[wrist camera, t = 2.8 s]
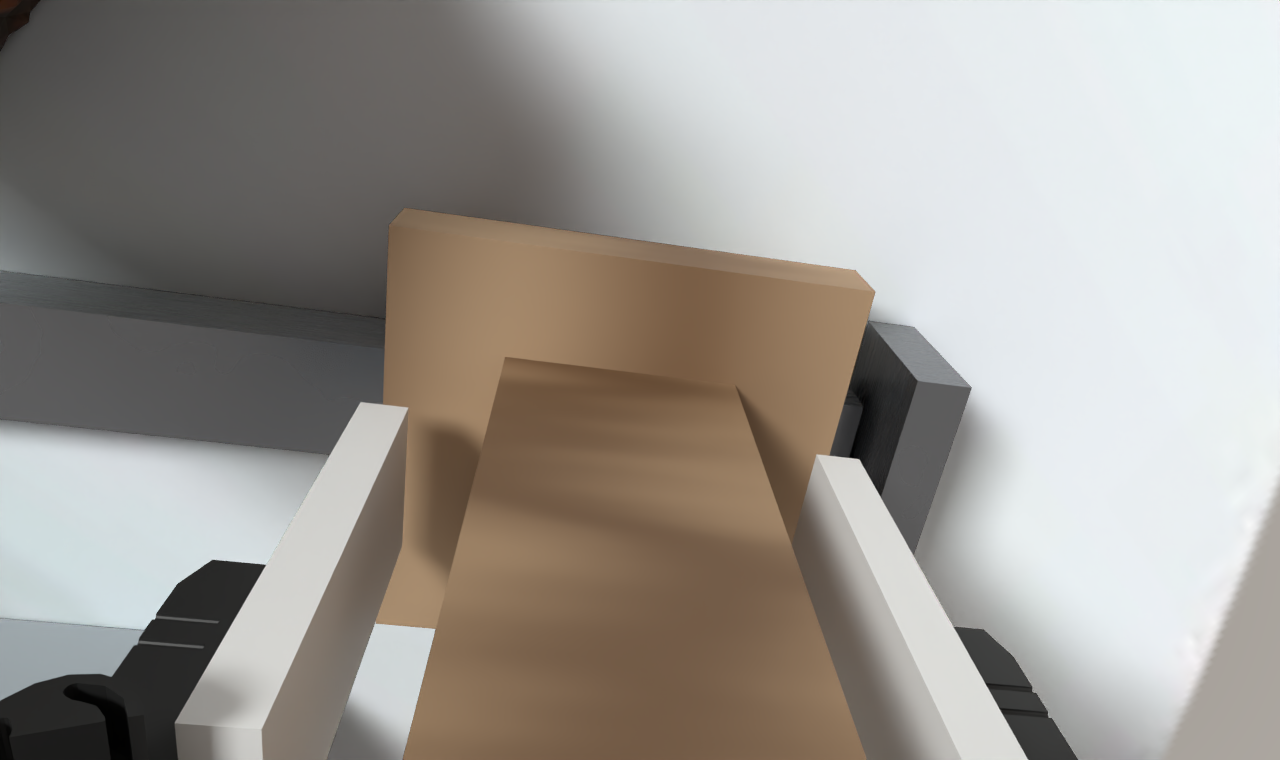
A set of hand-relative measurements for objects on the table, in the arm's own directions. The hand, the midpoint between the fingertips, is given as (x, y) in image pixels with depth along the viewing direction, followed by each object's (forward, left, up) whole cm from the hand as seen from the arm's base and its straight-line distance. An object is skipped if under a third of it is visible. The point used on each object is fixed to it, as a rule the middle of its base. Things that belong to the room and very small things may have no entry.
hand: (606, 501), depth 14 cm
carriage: (0, 0, -4) cm, 4 cm away
